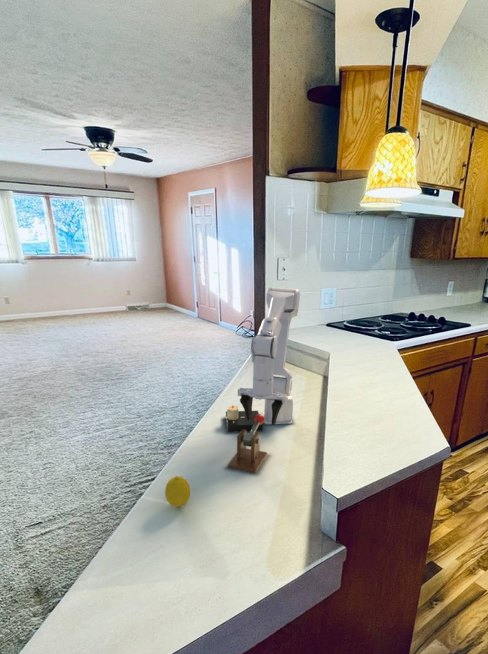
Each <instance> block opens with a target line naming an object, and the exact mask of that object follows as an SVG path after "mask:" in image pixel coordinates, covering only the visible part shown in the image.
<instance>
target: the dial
mask: <svg viewBox="0 0 488 654" xmlns="http://www.w3.org/2000/svg"><path fill="white" fill-rule="evenodd" d="M226 410H227V418H228V419H229V420H237V419H238V411H239V407H238V406H236V405H234V404H231V405H230V406H227V408H226Z"/></svg>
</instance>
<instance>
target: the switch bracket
mask: <svg viewBox="0 0 488 654" xmlns="http://www.w3.org/2000/svg"><path fill="white" fill-rule="evenodd" d="M246 433H247V431H246V429H243V430H242V431H241V432H238V434H237V436H236V453H235V455H234V456H233V457H232V459H231V460H230V461H229V462H228V464H227V468H228V469H233V470H237V471H243V472H247V473H253V474H257V472H258V470H259V469H260V467H261V466H262V465H263V463H264V461H265V460H266V458H268V452H267V451H261V450H260V445H261V431H256V432H255V434H254V436H253V437H252V438H251V447H250V448H247V446H244V445H243V438H244V436H245V434H246Z"/></svg>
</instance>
